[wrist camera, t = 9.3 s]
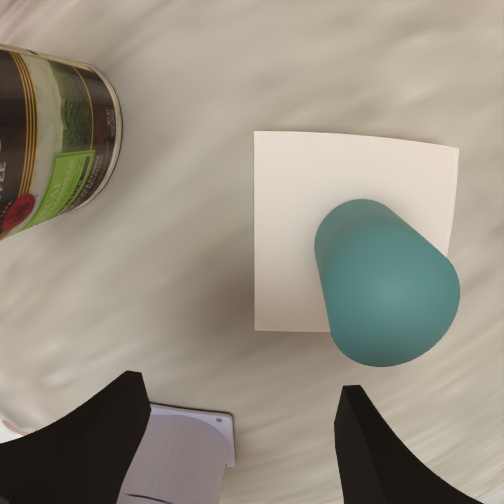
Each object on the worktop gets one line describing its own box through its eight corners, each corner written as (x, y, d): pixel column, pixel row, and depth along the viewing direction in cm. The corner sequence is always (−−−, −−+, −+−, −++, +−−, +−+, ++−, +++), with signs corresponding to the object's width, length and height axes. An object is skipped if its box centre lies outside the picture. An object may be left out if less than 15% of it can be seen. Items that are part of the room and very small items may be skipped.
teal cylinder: (310, 286, 16) (320, 367, 10) (317, 196, 14) (337, 239, 9) (395, 289, 15) (438, 363, 10) (409, 202, 14) (473, 247, 8)
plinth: (258, 303, 20) (254, 330, 17) (258, 133, 16) (254, 131, 14) (413, 304, 19) (429, 329, 16) (433, 145, 16) (458, 148, 13)
